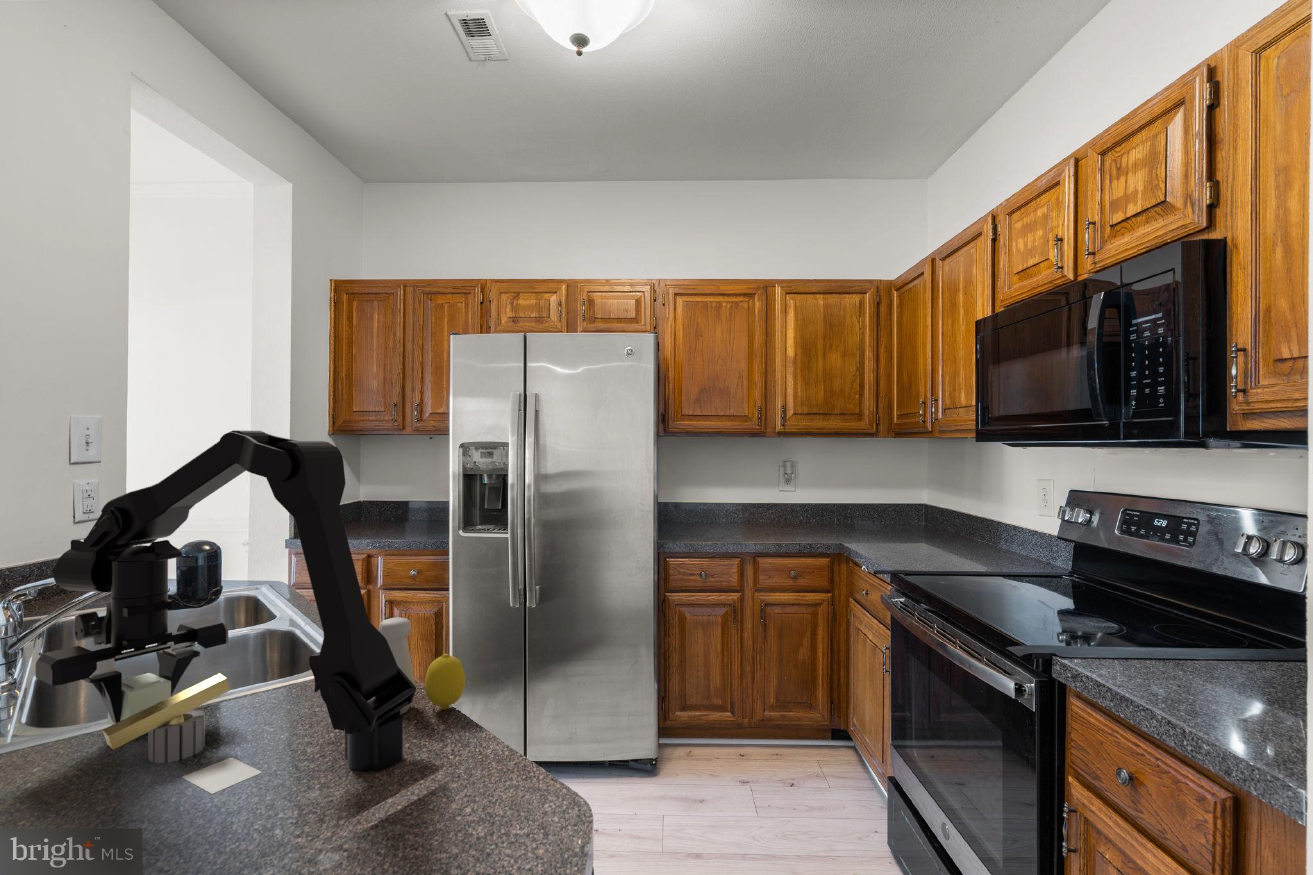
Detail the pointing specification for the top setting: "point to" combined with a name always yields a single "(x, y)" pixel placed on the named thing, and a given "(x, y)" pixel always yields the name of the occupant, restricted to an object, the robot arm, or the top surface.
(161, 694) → the pale green block
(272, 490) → the robot arm
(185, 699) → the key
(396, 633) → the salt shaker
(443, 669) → the lemon
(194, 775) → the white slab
